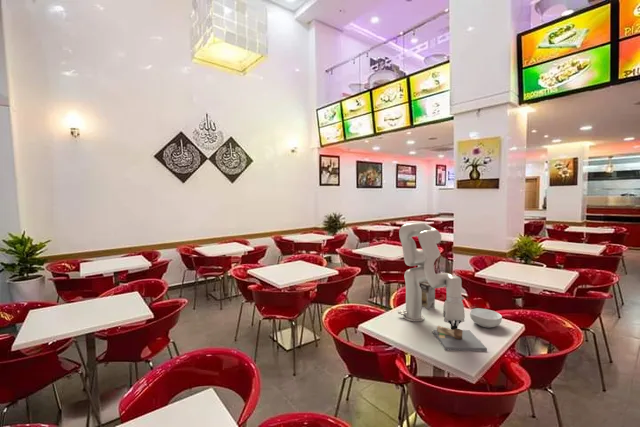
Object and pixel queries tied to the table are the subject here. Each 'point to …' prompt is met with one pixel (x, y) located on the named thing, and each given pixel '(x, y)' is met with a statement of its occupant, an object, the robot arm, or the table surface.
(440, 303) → the table surface
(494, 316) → the cereal bowl
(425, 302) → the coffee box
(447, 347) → the grey flat square slab
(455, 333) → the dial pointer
